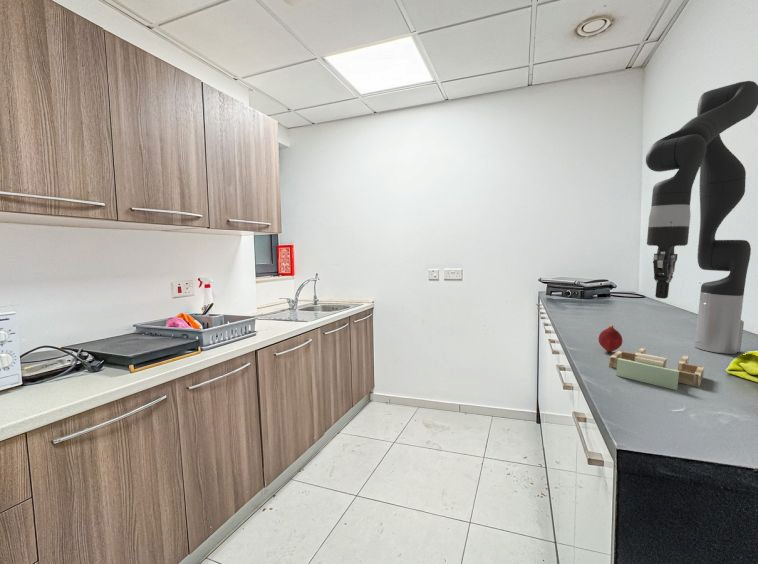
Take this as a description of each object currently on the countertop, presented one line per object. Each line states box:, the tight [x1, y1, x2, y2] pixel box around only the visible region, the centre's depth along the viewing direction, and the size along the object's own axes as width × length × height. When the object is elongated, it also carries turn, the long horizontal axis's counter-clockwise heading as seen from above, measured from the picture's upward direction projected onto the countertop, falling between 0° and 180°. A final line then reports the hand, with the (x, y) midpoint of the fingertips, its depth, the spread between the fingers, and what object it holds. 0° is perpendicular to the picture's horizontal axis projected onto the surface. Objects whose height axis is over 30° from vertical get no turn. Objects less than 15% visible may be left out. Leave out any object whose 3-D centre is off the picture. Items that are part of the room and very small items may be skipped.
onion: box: [598, 324, 623, 353], centre depth 100 cm, size 6×6×8 cm
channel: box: [608, 347, 705, 388], centre depth 86 cm, size 22×17×2 cm
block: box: [635, 353, 668, 368], centre depth 80 cm, size 5×5×5 cm
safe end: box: [615, 358, 679, 391], centre depth 78 cm, size 1×11×4 cm, turn 43°
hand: (661, 297), depth 83 cm, fingers closed
